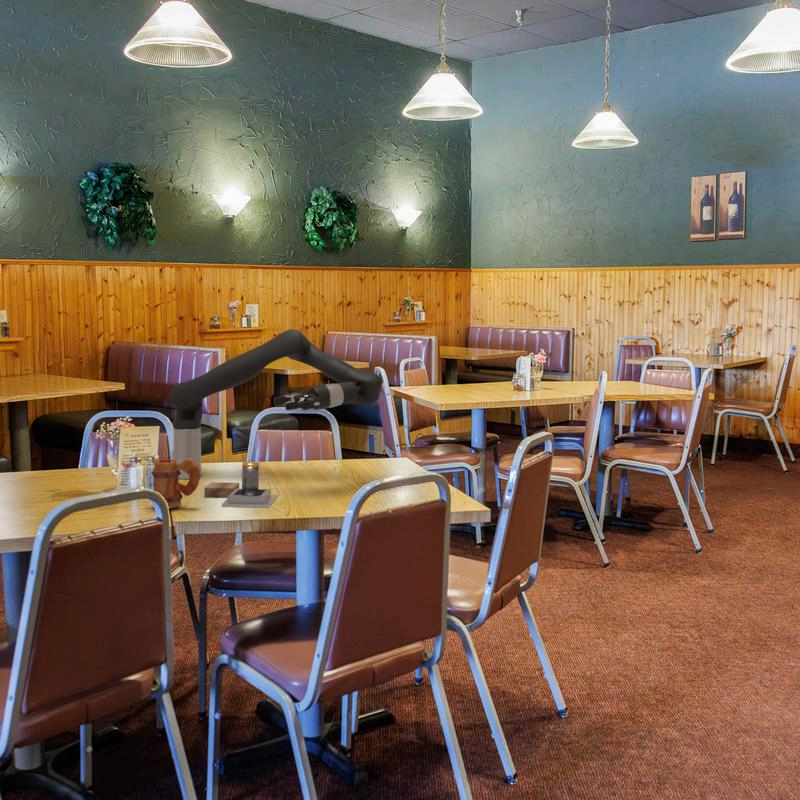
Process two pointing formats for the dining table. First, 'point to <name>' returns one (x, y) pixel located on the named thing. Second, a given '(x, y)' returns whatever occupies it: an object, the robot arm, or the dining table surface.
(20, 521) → the dining table surface
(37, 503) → the dining table surface
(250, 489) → the grey metal cylinder
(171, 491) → the mug
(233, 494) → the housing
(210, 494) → the stand
